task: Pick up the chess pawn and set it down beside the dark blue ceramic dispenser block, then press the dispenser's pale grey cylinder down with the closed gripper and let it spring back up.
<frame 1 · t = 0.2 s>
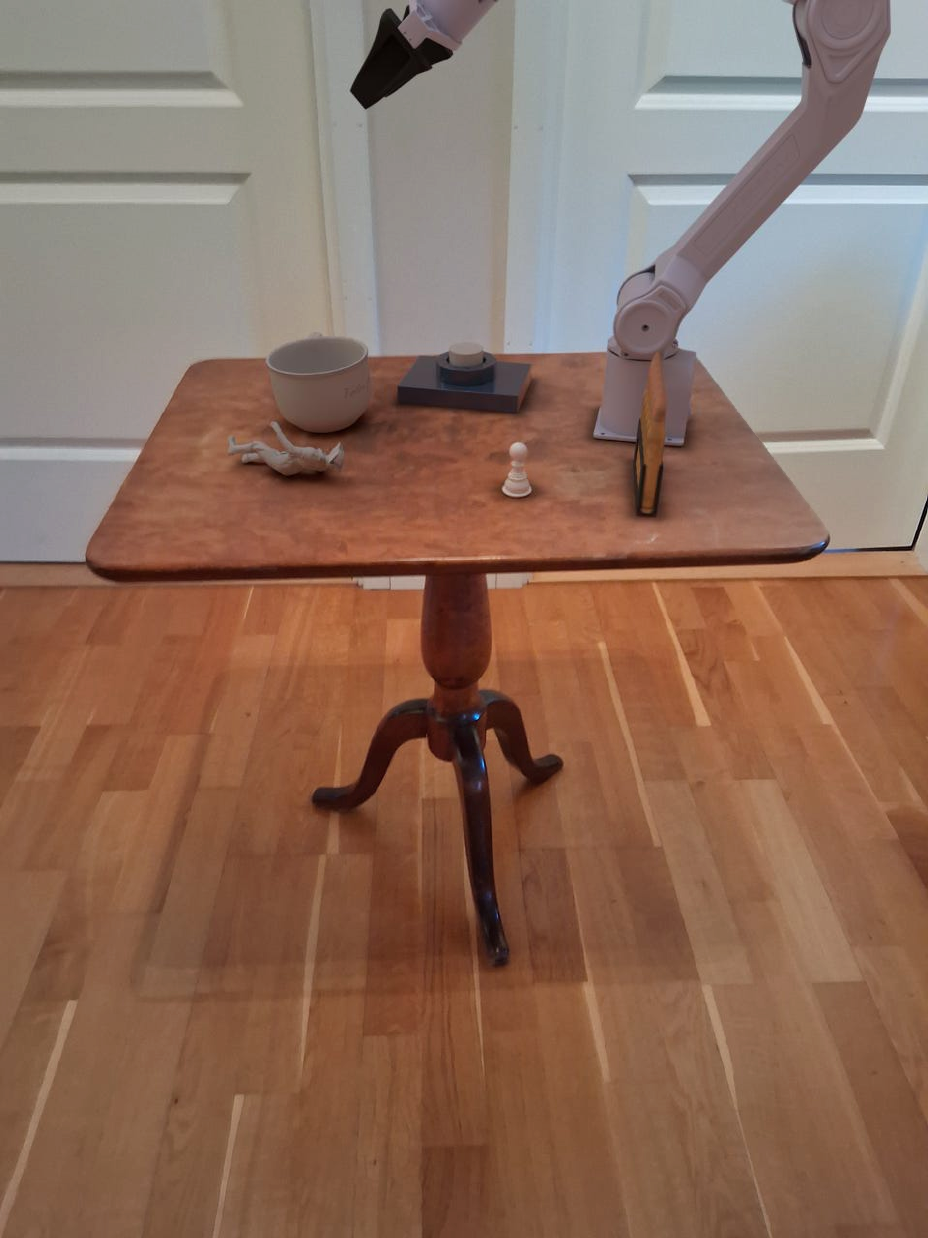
hand: (368, 93, 84), 31 cm above the table, tool tilted 45°, fingers open, 7 cm apart
soldier figure: (288, 474, 90), on the table
chess pawn: (516, 493, 86), on the table
pale grey cylinder: (466, 355, 104), point 4 cm above the table, slide at 0.1 cm
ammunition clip: (643, 491, 87), on the table
teacup: (326, 417, 101), on the table
dispenser: (466, 392, 106), on the table
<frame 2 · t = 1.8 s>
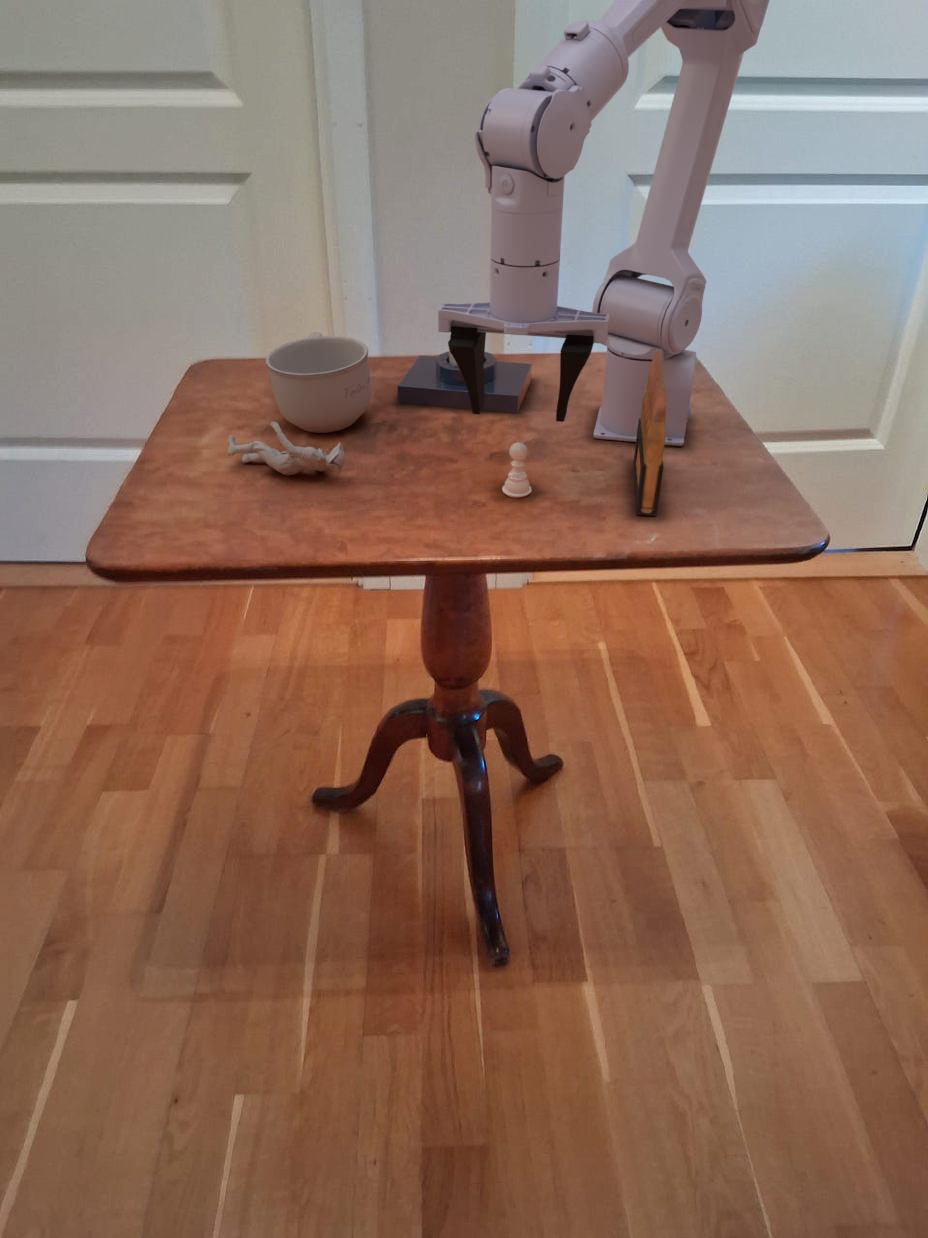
hand: (519, 413, 82), 8 cm above the table, tool pointing down, fingers open, 7 cm apart
nothing on the table moved.
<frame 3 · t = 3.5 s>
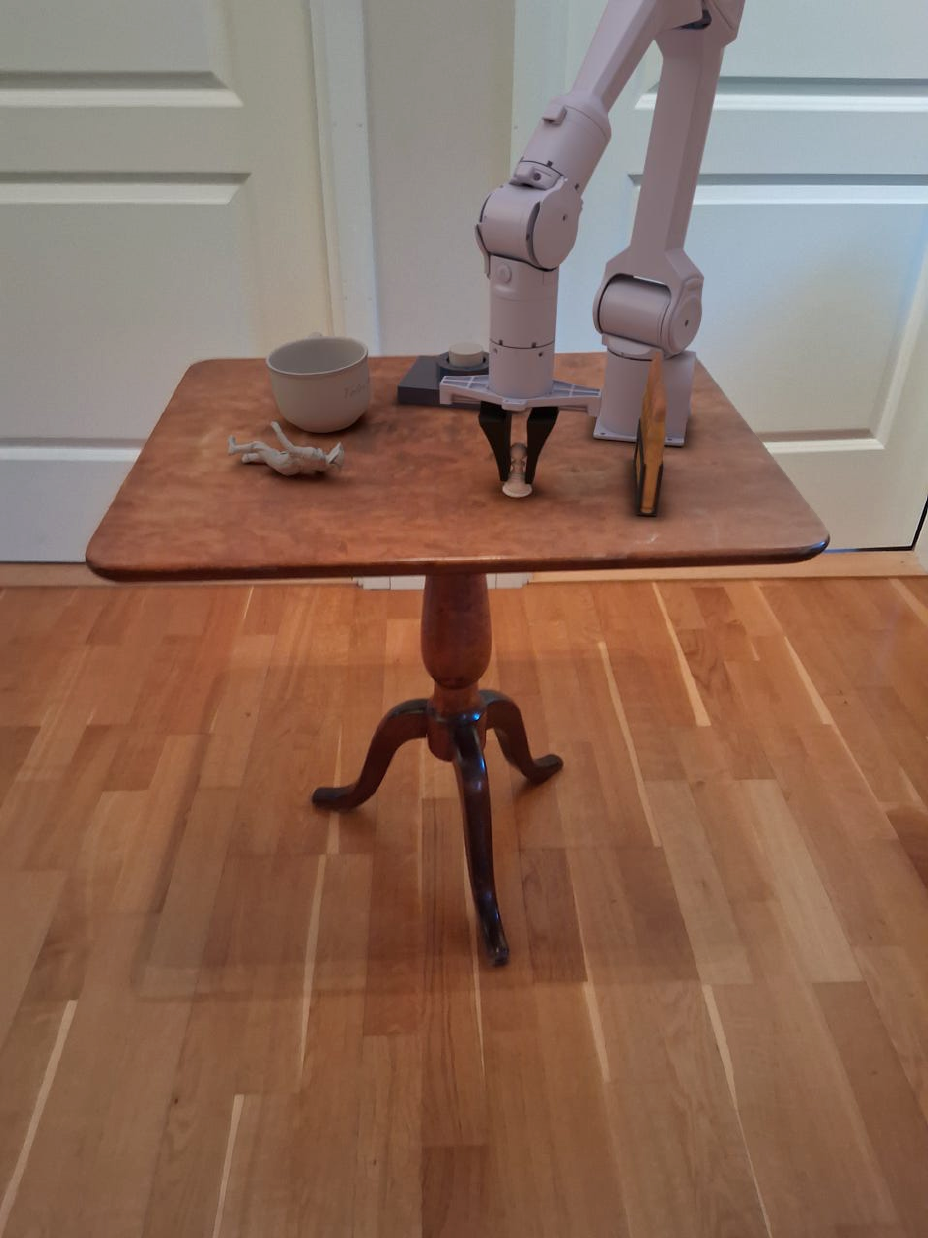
hand: (517, 478, 86), 1 cm above the table, tool pointing down, fingers closed on chess pawn, 2 cm apart
chess pawn: (516, 493, 86), on the table, touching gripper
everything else where it was.
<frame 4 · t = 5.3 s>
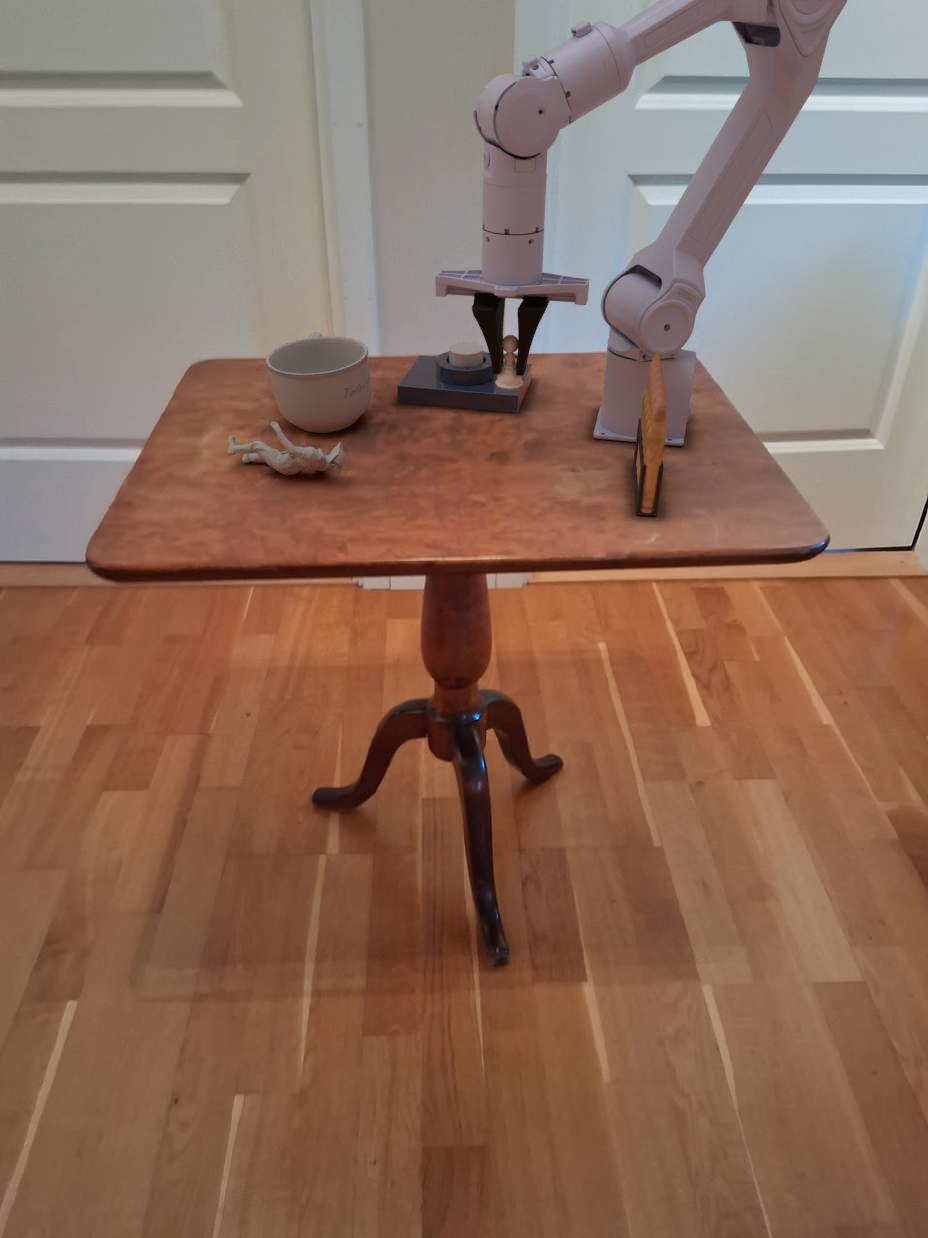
hand: (509, 371, 90), 8 cm above the table, tool pointing down, fingers closed on chess pawn
chess pawn: (509, 386, 91), point 6 cm above the table, touching gripper
everything else where it was.
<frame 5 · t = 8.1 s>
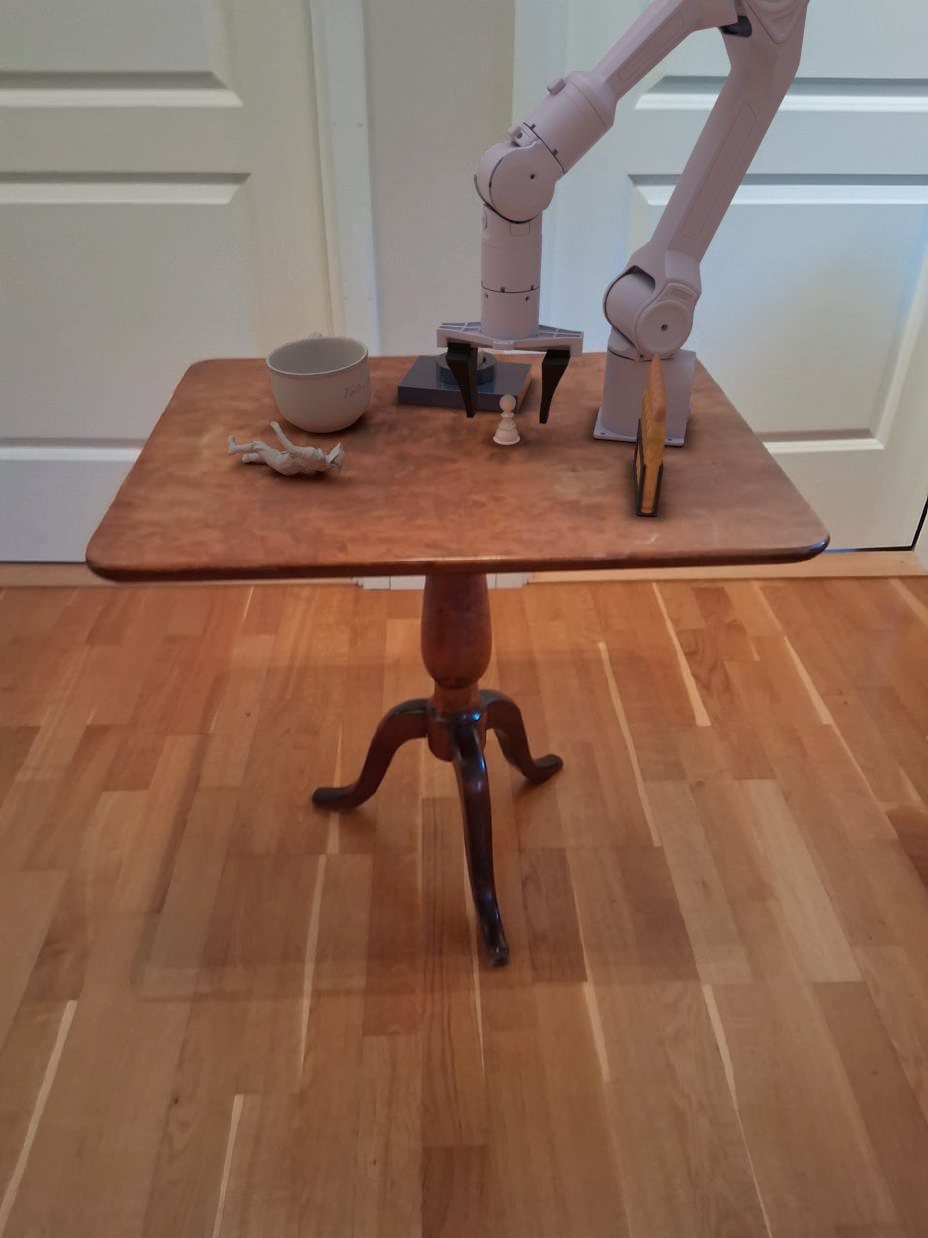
hand: (507, 417, 94), 3 cm above the table, tool pointing down, fingers open, 7 cm apart
chess pawn: (506, 442, 96), on the table
everything else where it was.
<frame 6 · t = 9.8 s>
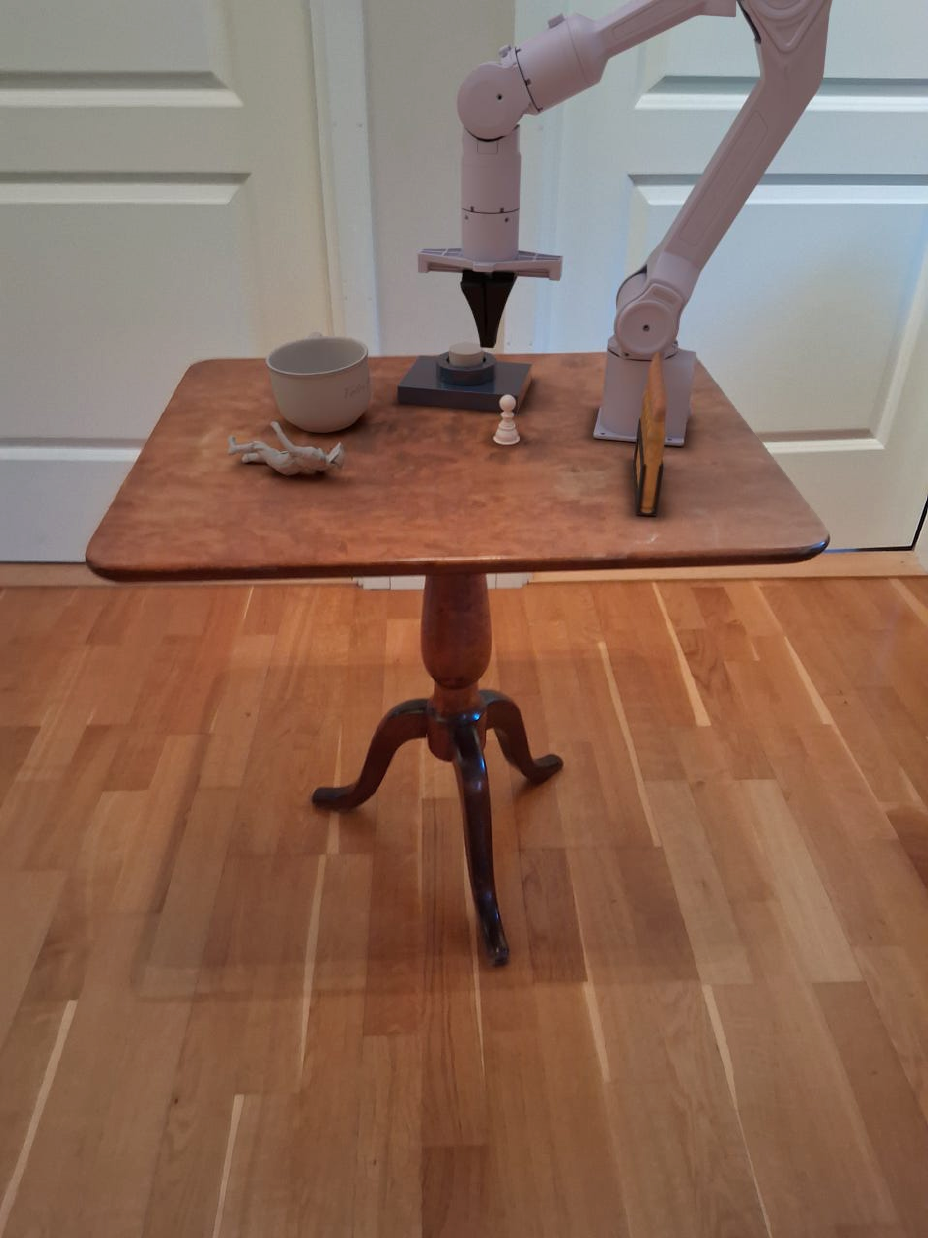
hand: (488, 344, 95), 8 cm above the table, tool pointing down, fingers closed
nothing on the table moved.
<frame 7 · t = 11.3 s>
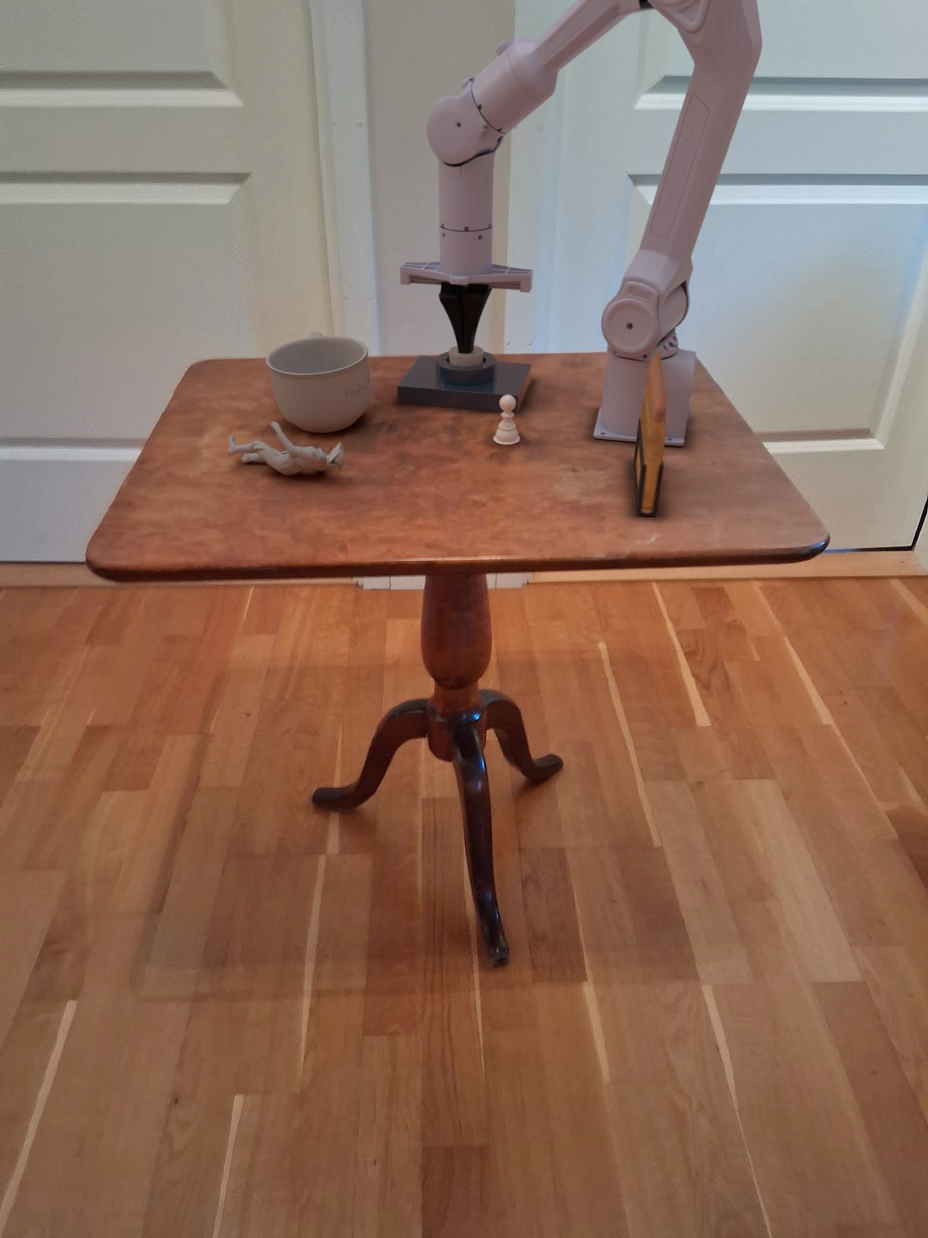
hand: (466, 350, 103), 5 cm above the table, tool pointing down, fingers closed, pressing on pale grey cylinder
pale grey cylinder: (466, 357, 104), point 4 cm above the table, slide at -0.2 cm, touching gripper
everything else where it was.
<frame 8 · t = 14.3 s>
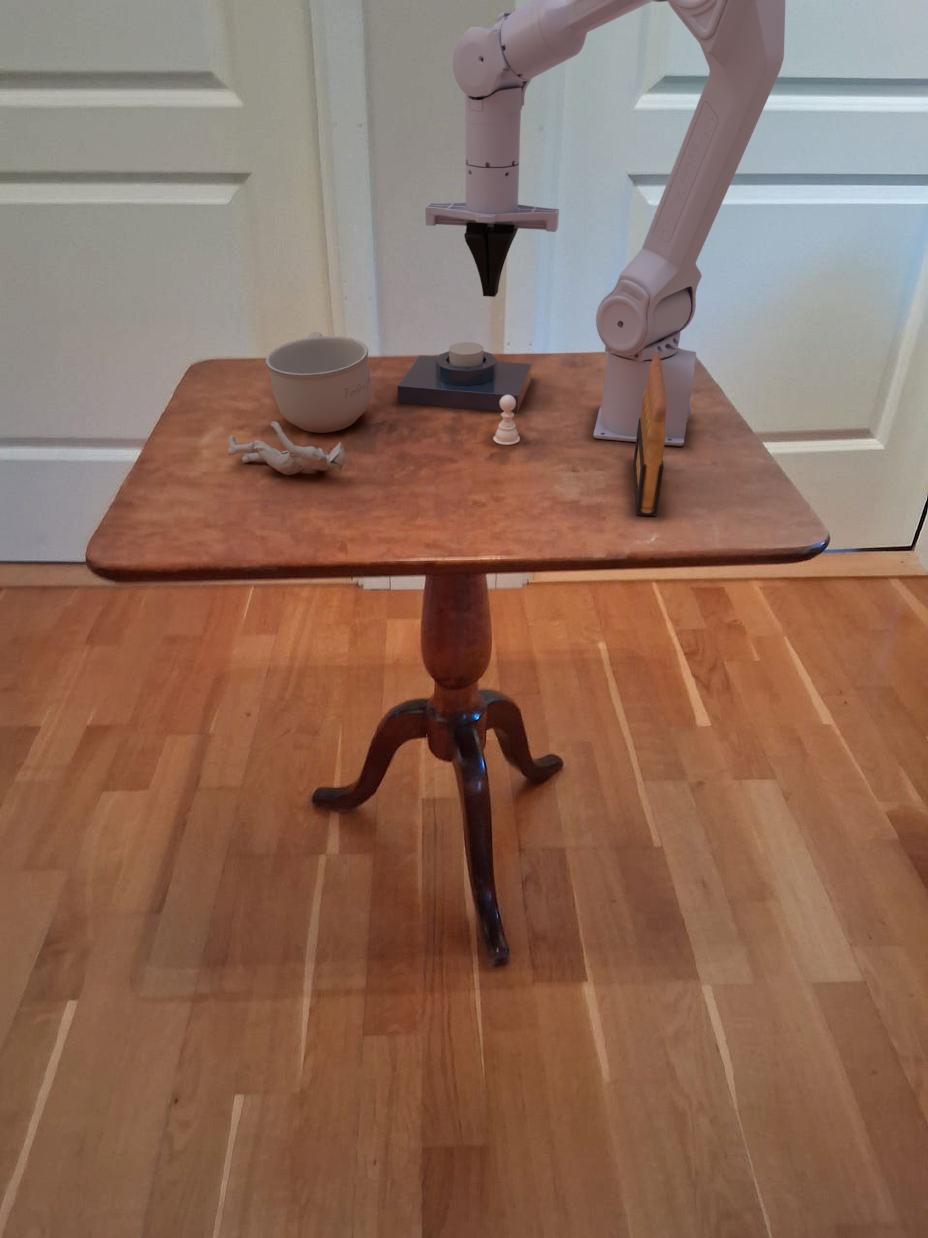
hand: (490, 293, 103), 10 cm above the table, tool pointing down, fingers closed
pale grey cylinder: (466, 355, 104), point 4 cm above the table, slide at 0.1 cm
everything else where it was.
at the end: pale grey cylinder pushed in 1.2 cm at the most during the clip, back to where it started at the end; pale grey cylinder slide at 0.1 cm; chess pawn inside the target area (0.0 cm from its centre), on the table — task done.
